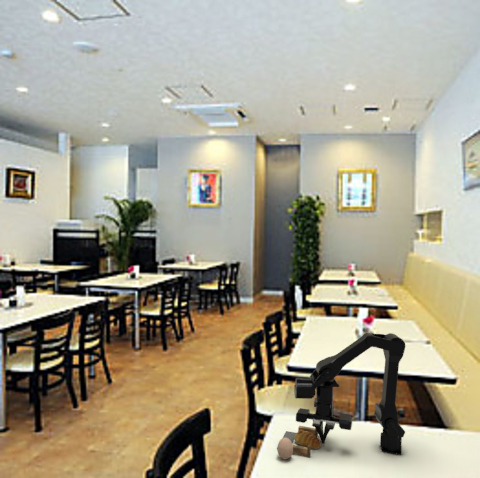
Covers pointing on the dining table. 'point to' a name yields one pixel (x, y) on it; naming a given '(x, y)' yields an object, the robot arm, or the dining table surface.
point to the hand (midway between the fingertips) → (323, 443)
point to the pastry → (307, 439)
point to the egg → (285, 448)
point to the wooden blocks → (304, 450)
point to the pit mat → (289, 435)
